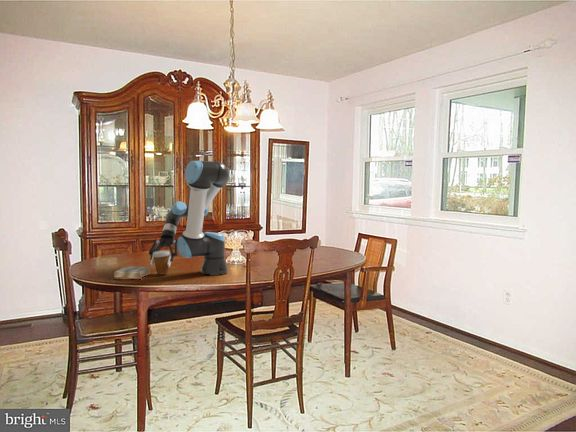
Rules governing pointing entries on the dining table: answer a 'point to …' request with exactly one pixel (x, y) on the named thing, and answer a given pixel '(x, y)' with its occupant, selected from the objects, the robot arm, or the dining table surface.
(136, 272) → the birch base block
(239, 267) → the dining table surface
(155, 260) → the disposable coffee cup
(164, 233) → the robot arm
